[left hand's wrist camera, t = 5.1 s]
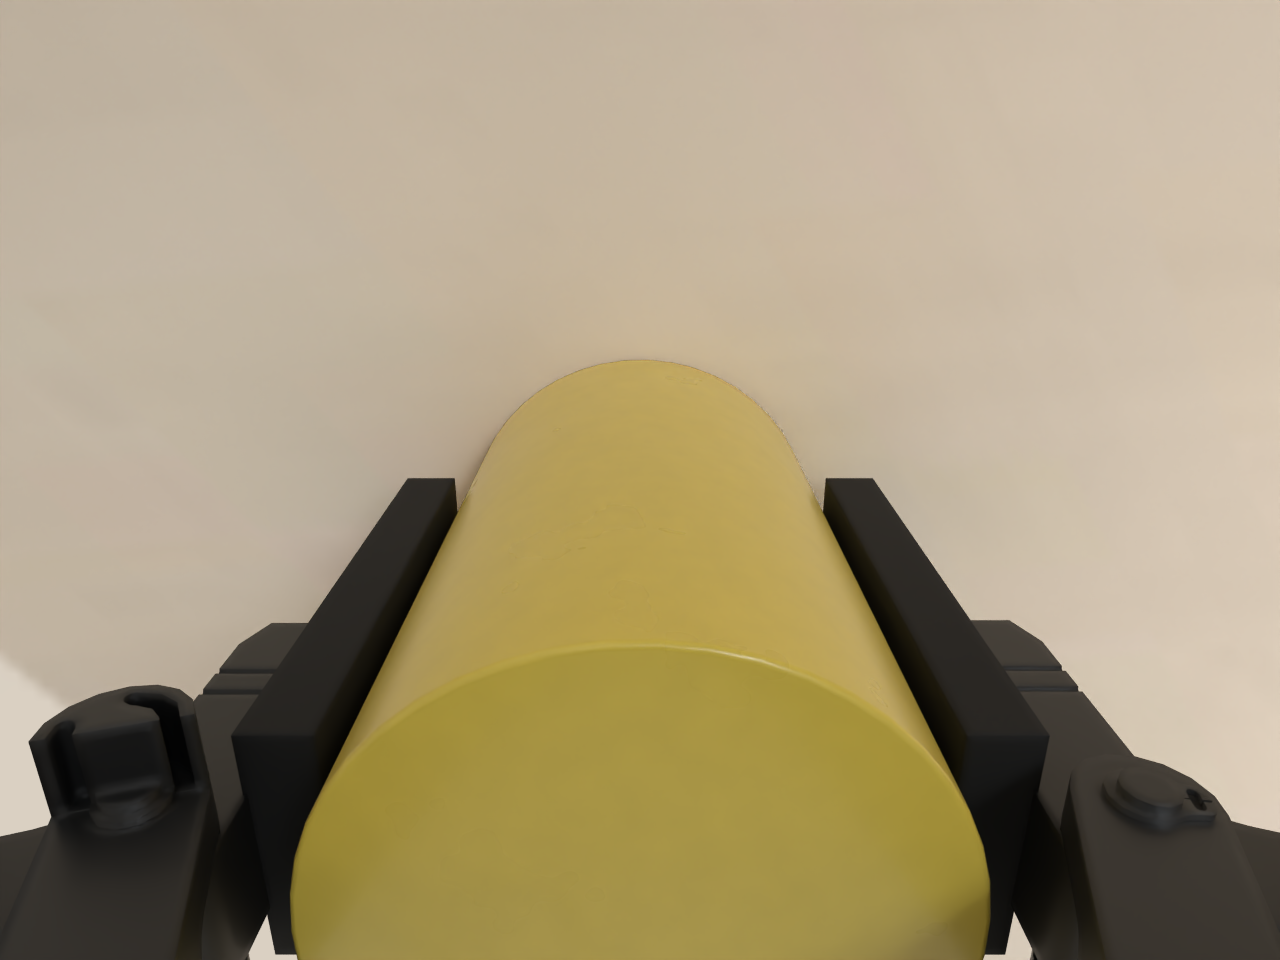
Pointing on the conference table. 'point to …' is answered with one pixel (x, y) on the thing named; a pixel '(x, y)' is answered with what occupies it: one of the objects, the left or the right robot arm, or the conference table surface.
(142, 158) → the conference table surface
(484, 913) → the canister
